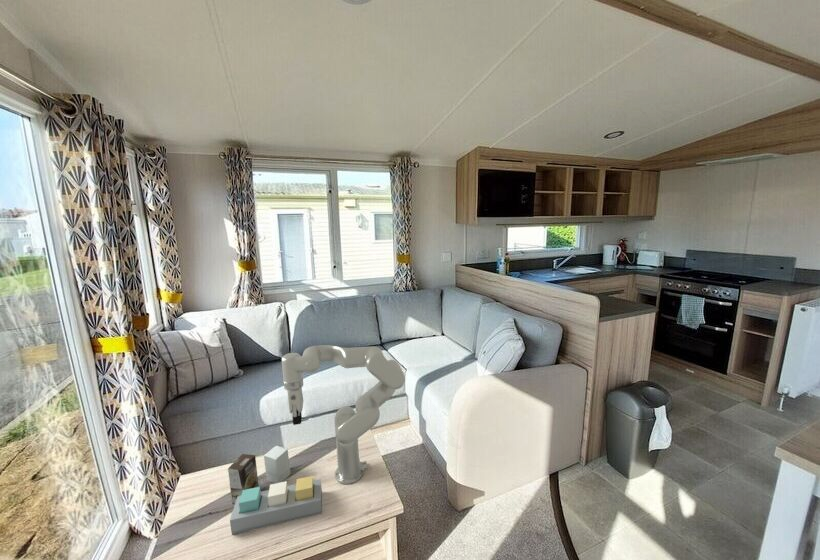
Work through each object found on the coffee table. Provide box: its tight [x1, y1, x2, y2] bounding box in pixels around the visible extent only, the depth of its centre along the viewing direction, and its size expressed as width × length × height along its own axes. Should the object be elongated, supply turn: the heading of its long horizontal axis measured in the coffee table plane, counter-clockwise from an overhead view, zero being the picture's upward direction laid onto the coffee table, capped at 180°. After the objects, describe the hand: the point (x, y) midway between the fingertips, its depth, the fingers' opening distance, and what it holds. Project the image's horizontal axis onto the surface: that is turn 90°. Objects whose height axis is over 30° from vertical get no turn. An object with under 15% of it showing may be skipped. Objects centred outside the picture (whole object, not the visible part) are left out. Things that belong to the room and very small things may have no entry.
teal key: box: [239, 486, 261, 514], centre depth 125 cm, size 6×6×7 cm
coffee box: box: [227, 453, 260, 504], centre depth 136 cm, size 9×6×16 cm
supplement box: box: [263, 445, 291, 484], centre depth 146 cm, size 7×7×13 cm
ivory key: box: [268, 481, 288, 507], centre depth 128 cm, size 6×6×7 cm
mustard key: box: [295, 475, 314, 501], centre depth 130 cm, size 6×6×7 cm
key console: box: [229, 478, 323, 535], centre depth 128 cm, size 32×11×6 cm, turn 104°
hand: (297, 423), depth 138 cm, fingers closed
